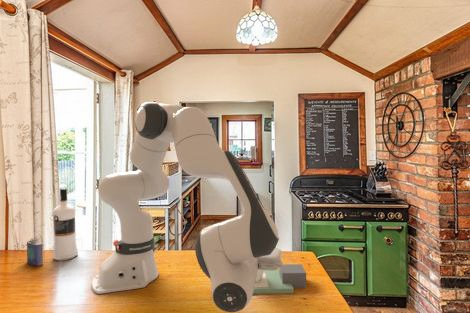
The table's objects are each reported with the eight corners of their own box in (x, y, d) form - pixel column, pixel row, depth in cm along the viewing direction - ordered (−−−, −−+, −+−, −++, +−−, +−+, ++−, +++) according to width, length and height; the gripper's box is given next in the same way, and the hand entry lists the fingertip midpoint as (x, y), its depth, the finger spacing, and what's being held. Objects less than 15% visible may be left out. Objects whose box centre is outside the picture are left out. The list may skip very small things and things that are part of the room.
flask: (44, 264, 118) (43, 238, 117) (36, 267, 115) (35, 241, 115) (32, 260, 122) (31, 235, 122) (24, 263, 120) (23, 237, 119)
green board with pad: (225, 294, 93) (225, 278, 93) (226, 274, 107) (226, 261, 107) (309, 293, 93) (309, 277, 93) (299, 273, 107) (299, 260, 107)
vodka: (82, 255, 127) (79, 187, 126) (60, 262, 119) (57, 190, 118) (70, 251, 132) (68, 186, 131) (48, 258, 124) (46, 189, 123)
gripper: (282, 255, 71) (282, 237, 85) (202, 251, 75) (214, 234, 88) (282, 280, 72) (282, 258, 85) (202, 274, 75) (214, 254, 89)
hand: (247, 246), depth 87 cm, fingers open, 8 cm apart
